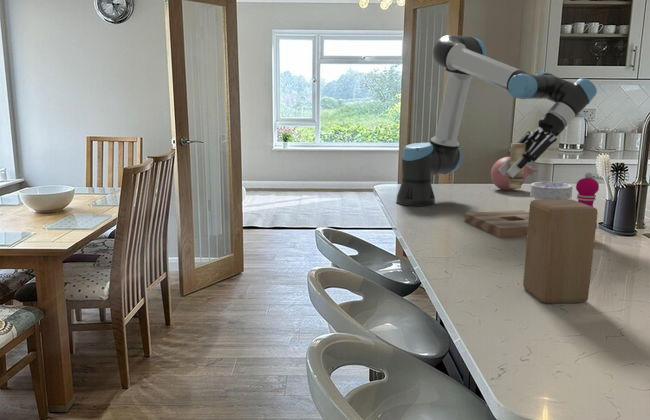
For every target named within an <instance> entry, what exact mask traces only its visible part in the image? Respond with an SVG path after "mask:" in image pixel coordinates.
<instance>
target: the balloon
mask: <svg viewBox="0 0 650 420" xmlns="http://www.w3.org/2000/svg"><path fill="white" fill-rule="evenodd" d="M509 157H510V156H505V157H502V158H500V159H498V160H496V161H495V163H494V164H493V166H491V167H492V168H491V170H490V177H491V181H492V183H493V184H494V186H495V187H497V189H500V190H503V191H508V192H509V191H515V190H516V189H513V188H509V181H510V180H508V176H509V174H508V172H507V173H506V174H505V175H502V174H501V172H500V171H499V170H498V169H499V168H500V167H501V166H502V165H503V164H504V163H505V162H506V160H507V159H508V158H509ZM537 172H538V169H537V168H534V167H533V166H530V165H529V166H528V165H527V164H526V165H525V166H524V173H523V181H521V186H522V185H523V184H524V183H525V181H526V179H527V177H528V176H532V175H533V174H534V173H537Z"/></svg>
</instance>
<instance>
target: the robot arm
mask: <svg viewBox="0 0 650 420" xmlns="http://www.w3.org/2000/svg"><path fill="white" fill-rule="evenodd" d="M432 56H433V60H434V61H435V63H436V64H437V65H438V66H439V67H442V68H445V70H444V71H445V72H446V74H447V79H446V83H445V84H446V85H445V88H444V89H445V90H444V95H443V99H442V103H441V107H440V113H439V117H438V122H437V127H436V132H435V135H434V136H433V137H431V138H430V140H429V142H417V143H416V142H414V143H410V144H407V145H405V146H404V147H403V148H402V156H401V183H400V186H399V189H398V192H397V195H396V203H397V204H399V205H403V206H410V207H424V206H425V207H426V206H433V205H435V204H436V197H435V193H434V190H433V186H432V176H436V175H446V174H450V173H453V172H455V171H456V170H458V169H459V168H460V166H461V164H462V161H463V154H462V153H461V152H462V151H461V149H460V143H459V141H458V137H459V136H458V135H459V132H460V127H461V122H462V118H463V113H464V109H465V105H466V100H467V96H468V91H469V87H470V84H471V80H472V79H473V78H476V79H478V80H480V81H483V82H486V83H488V84H490V85H493V86H494V87H497V88H499V89H502V90H504V91H507V92H508V93H509V95H510V96H512V97H513V98H514V99H520V100H526V99H528V100H529V99H530V100H535V99H536V100H537V99H538V100H540V99H541V100H549V101H551V102H553V103H554V104H553V105H552V106H551V107H550V108H549V109H548V110H547V111H546V113H545V114H543V116H541V118H540V119H539V120H538V127H536V128H535V129H534V130H533V131H529V130H527V131H526V132H525V134H524V136H522V137H521V139H520V140H519V141H518V142H517V143H523V144H526V148H525V154H522V155H523V157H524V158H523V157H520V158H519V159H518V160H517V161H516V162H515V163H514V164H513V165H512V166H511V168H510V169H509V163H510V156H508V157H509V158H508V159H507V160H506V162H505V163H504V164H503V165H502V166H501V167H500V168H499V169H498V170H499V171H500V172H501V174H502V175H505V174H506V173H507V172H508V174H509V175H510V176H511V177H512V178H513V177H514V176H515V175H516V174H517V173H518V172H519V171H520V170H521V169H522V168H523V167H524V166H525V165H526V166H527V164H528V163H530V162H531V161H532V162H536V161H537V160H538V159H539V158H540V157H541V156H542V155H543V154H544V153H545V151H546V150H547V149H548V148H549V147H550V146H551V145H552V144H554V143H555V142H557V140H558V139H557V137H558V136H559V135H560V134H561V133H562V132H563V131H564V130H565V128H566V127H568V125H570V124H571V122H572V121H574V119H575V118H576V117H577V116H578V115H579V114H580V113H581V112H582V111H583V110H584V109H585V108H586V107H587V106H588V105H589V104H590V103H591V102H592V100H593V99H594V98H595V97H596V95H597V93H598V90H597V89H598V88H597V87H596V85H595V84H594V83H593V82H592V81H591V80H589V79H587V78H578V79H577V80H576V81H575V82H572V81H568V80H566V79H563V78H561V77H559V76H556V75H554V74H552V73H551V72H549V73H548V72H546V71H539V72H538V73H536V74H532V73H529V72H527V71H525V70H521V69H519V68H517V67H514V66H511V65H509V64H506V63H504V62H501V61H498V60H496V59H494V58H491V57H489V56H487V49H486V46H485V44H484V43H483V41H482V40H481V39H479V38H478V37H477V38H476V37H474V36H468V35H467V36H465V35H454V34H448V35H444V36H441V37H440V38H439V39H437V40H436V42H435V44H434V46H433V49H432ZM508 153H509V154H510V151H509V152H508Z"/></svg>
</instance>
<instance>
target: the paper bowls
mask: <svg viewBox="0 0 650 420" xmlns="http://www.w3.org/2000/svg"><path fill="white" fill-rule="evenodd" d="M530 185H531V186H530V193H529V194H530V195H529V196H530V197H532V198H534V200H559V199H572V195H573V185H572V184H569V183H564V182H557V181H555V182H554V181H538V182H537V181H536V182H531V184H530Z"/></svg>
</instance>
